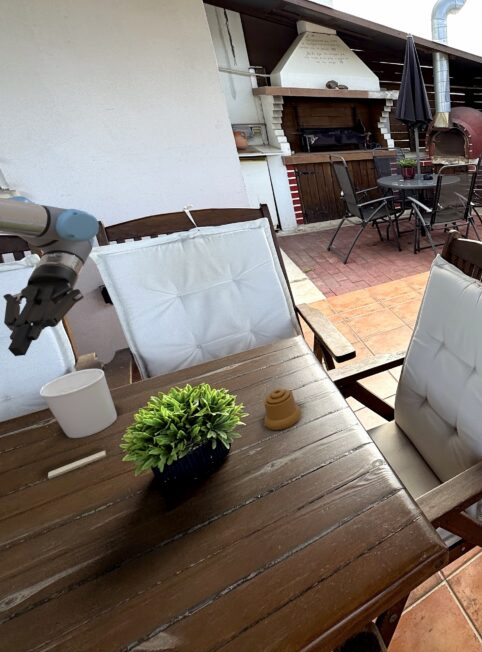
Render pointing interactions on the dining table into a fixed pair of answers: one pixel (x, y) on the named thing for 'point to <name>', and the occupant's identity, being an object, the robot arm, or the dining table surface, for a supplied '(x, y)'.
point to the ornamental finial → (281, 410)
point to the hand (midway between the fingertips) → (16, 351)
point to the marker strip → (76, 464)
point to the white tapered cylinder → (80, 402)
